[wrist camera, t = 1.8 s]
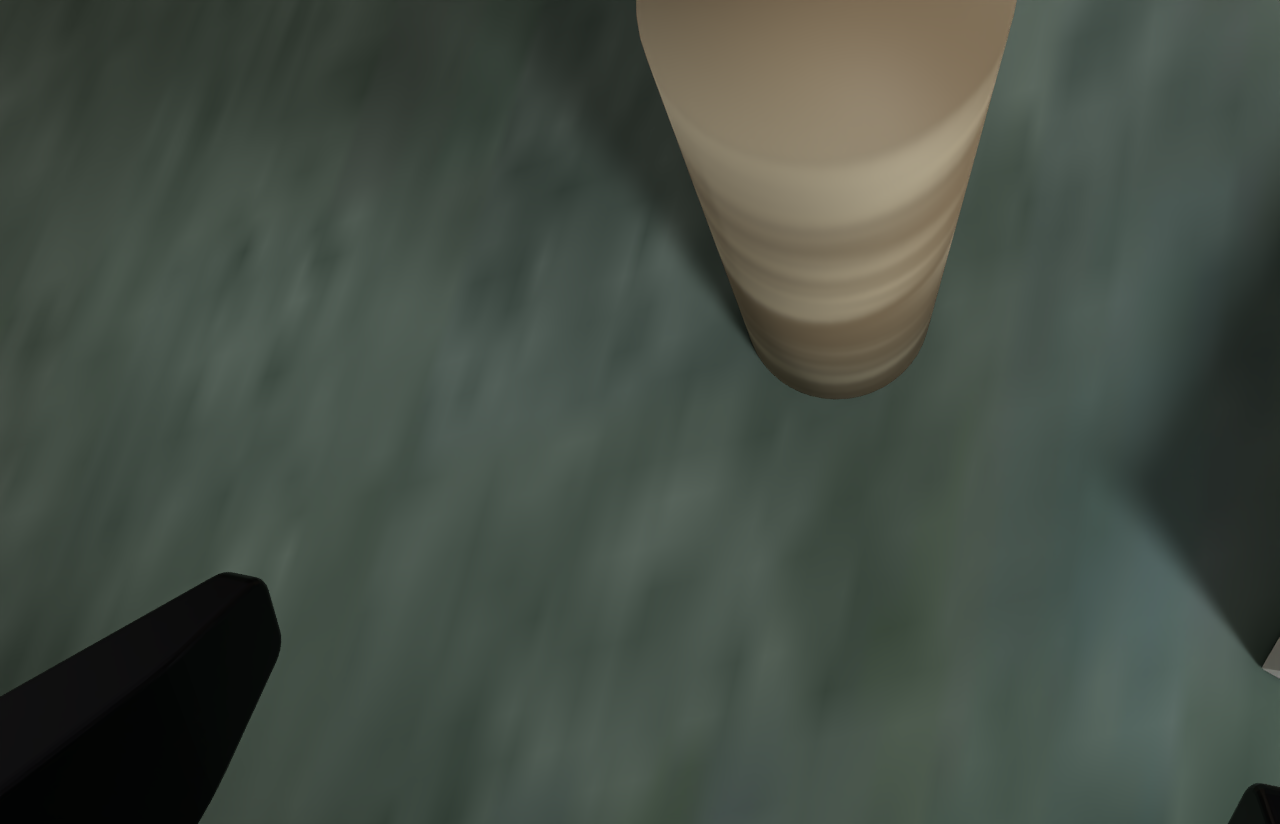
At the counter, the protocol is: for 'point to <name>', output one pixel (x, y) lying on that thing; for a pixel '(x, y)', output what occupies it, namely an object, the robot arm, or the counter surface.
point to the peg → (829, 164)
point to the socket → (1273, 661)
